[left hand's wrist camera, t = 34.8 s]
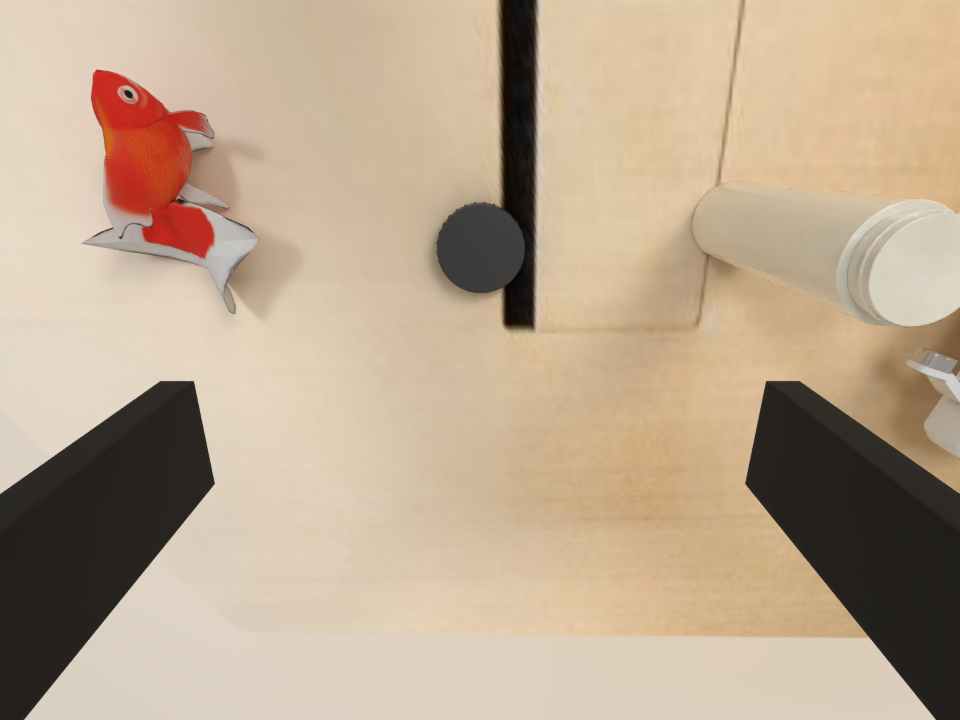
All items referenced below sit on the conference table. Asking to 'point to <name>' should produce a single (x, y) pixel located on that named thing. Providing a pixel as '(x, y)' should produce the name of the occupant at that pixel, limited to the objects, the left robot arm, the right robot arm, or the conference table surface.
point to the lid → (480, 247)
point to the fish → (160, 183)
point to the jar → (839, 248)
